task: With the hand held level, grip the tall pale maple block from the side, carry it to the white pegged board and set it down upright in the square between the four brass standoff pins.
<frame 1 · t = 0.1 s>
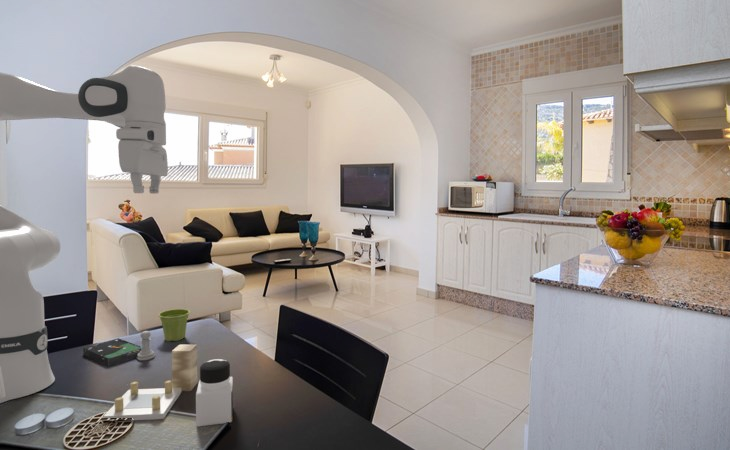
hand: (146, 193, 102), 48 cm above the table, tool pointing down, fingers open, 8 cm apart
medicine bottle: (215, 417, 90), on the table
chess piece: (146, 358, 121), on the table
maple block: (185, 386, 103), on the table
white pegged board: (145, 406, 93), on the table
disk drive: (114, 357, 123), on the table
plant pot: (174, 339, 137), on the table
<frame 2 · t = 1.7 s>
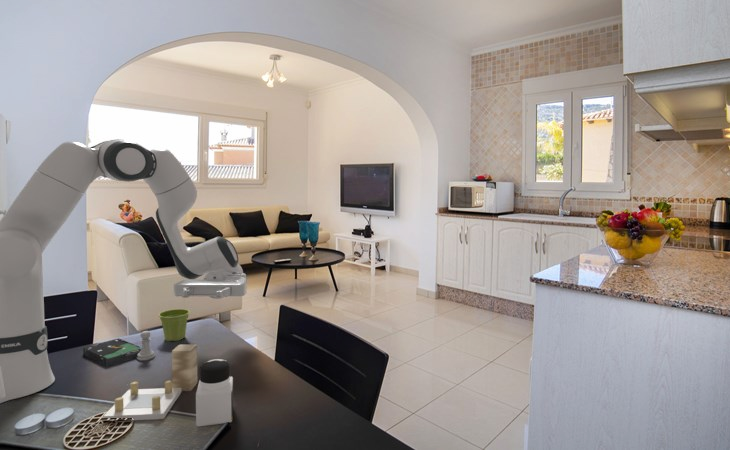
hand: (201, 294, 114), 20 cm above the table, tool horizontal, fingers open, 8 cm apart
nothing on the table moved.
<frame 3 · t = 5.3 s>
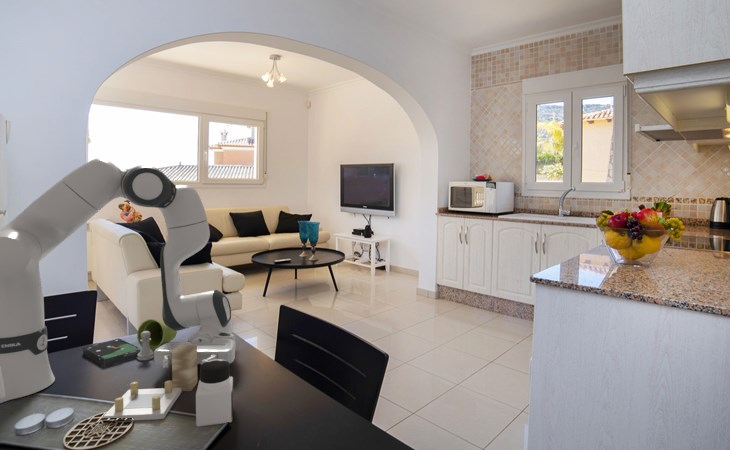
hand: (184, 365, 103), 5 cm above the table, tool horizontal, fingers open, 8 cm apart
plant pot: (169, 331, 135), point 3 cm above the table
everything else where it was.
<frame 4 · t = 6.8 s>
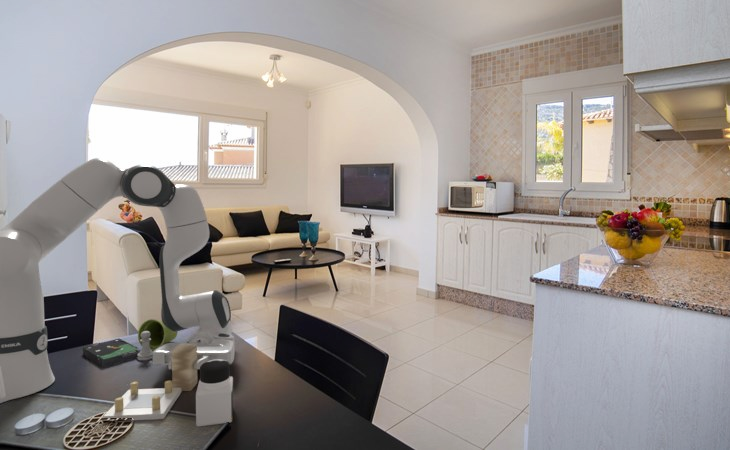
hand: (183, 366, 102), 6 cm above the table, tool horizontal, fingers closed on maple block, 4 cm apart
maple block: (185, 386, 103), on the table, touching gripper
everything else where it was.
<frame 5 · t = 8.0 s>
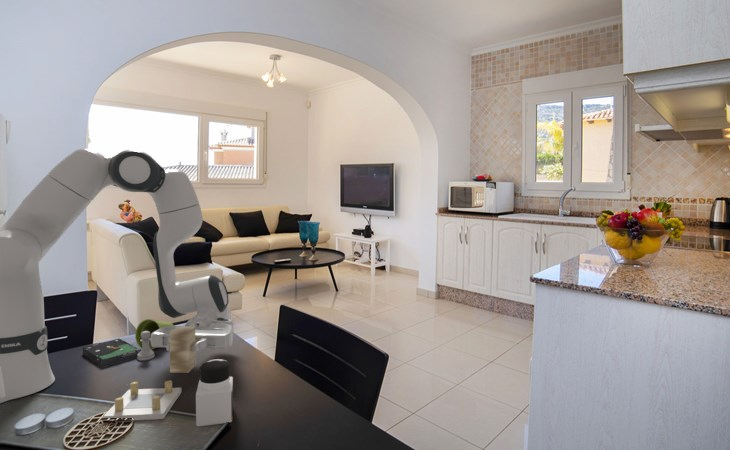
hand: (181, 348, 101), 10 cm above the table, tool horizontal, fingers closed on maple block, 4 cm apart
maple block: (182, 368, 103), point 5 cm above the table, touching gripper
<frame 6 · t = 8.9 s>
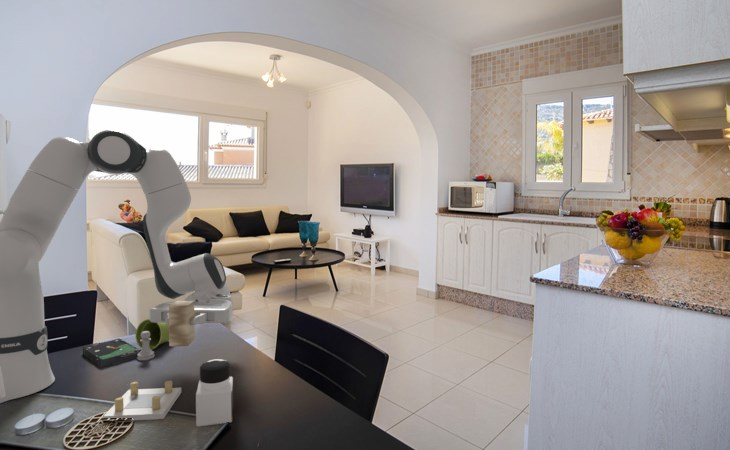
hand: (180, 322, 101), 17 cm above the table, tool horizontal, fingers closed on maple block, 4 cm apart
maple block: (182, 343, 102), point 11 cm above the table, touching gripper
everything else where it was.
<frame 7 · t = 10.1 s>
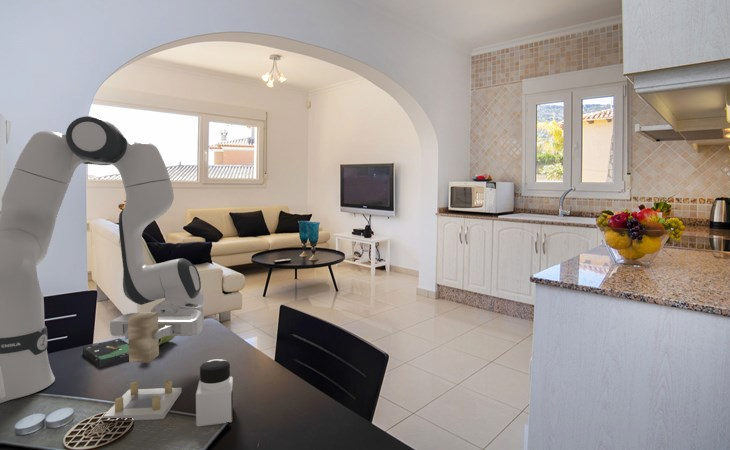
hand: (141, 335, 91), 17 cm above the table, tool horizontal, fingers closed on maple block, 4 cm apart
maple block: (144, 358, 93), point 11 cm above the table, touching gripper
everything else where it was.
when the fingers open (8 cm above the table, at t = 12.3 s): maple block drops 1 cm, resting on white pegged board.
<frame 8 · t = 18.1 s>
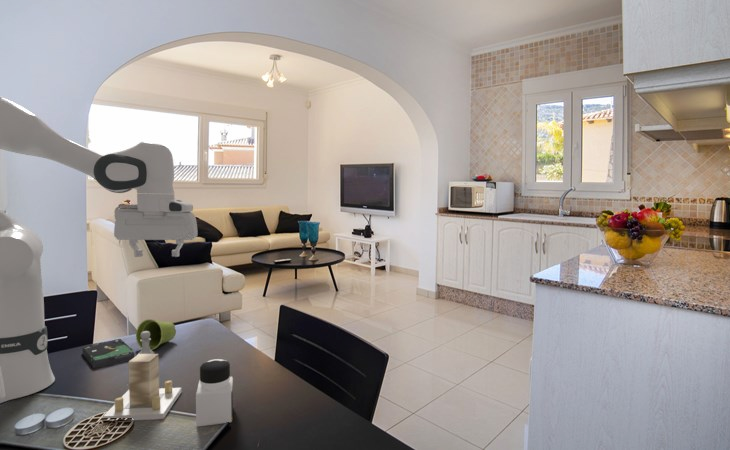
hand: (157, 256, 111), 31 cm above the table, tool pointing down, fingers open, 8 cm apart
maple block: (144, 400, 93), point 1 cm above the table, touching white pegged board
at the end: maple block 0.0 cm off-centre on the white pegged board, point 1.2 cm above the white pegged board's base; maple block tilted 0°; the gripper is holding nothing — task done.
